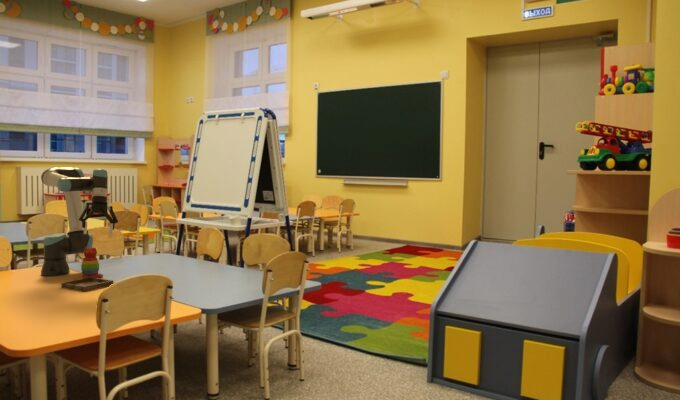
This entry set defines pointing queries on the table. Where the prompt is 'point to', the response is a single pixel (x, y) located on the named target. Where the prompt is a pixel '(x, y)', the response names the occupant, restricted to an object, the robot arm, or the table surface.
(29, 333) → the table surface
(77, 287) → the dark brown square tray
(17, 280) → the table surface
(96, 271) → the stacking bear
